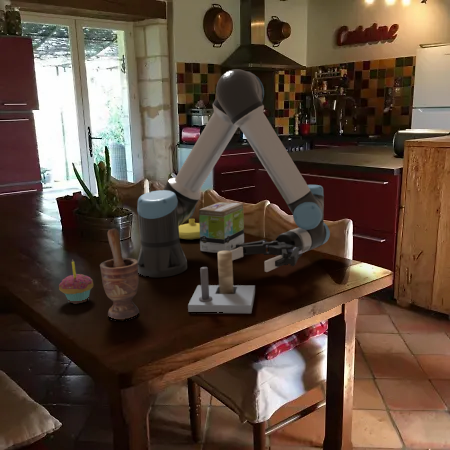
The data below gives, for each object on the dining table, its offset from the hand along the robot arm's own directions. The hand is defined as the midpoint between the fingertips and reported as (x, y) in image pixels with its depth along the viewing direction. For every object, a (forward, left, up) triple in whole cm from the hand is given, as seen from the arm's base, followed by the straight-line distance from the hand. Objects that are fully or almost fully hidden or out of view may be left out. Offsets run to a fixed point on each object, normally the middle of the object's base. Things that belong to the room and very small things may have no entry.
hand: (245, 261), depth 126 cm
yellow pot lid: (-25, +54, -8) cm, 60 cm away
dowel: (-4, -6, -8) cm, 11 cm away
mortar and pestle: (-29, -16, -8) cm, 34 cm away
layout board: (-5, -9, -8) cm, 13 cm away
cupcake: (-43, -9, -8) cm, 45 cm away
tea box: (-11, +40, -8) cm, 43 cm away
